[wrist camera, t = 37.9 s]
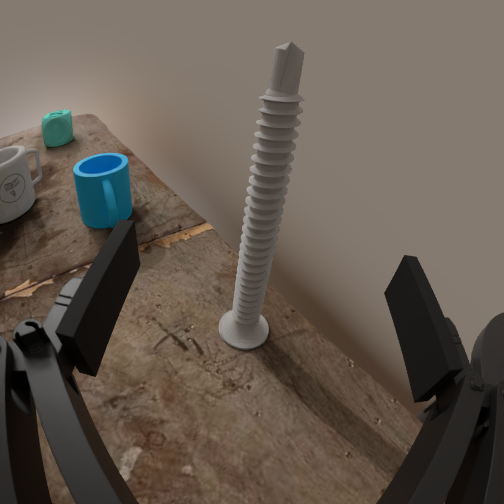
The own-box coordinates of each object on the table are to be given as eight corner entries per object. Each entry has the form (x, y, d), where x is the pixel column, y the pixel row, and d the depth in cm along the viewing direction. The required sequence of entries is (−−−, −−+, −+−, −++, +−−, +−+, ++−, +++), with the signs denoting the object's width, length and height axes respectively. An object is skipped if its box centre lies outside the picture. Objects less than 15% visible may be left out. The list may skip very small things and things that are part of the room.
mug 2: (79, 207, 43) (71, 160, 38) (125, 194, 47) (121, 149, 42) (90, 250, 36) (78, 195, 31) (146, 233, 40) (142, 180, 35)
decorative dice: (73, 134, 70) (70, 107, 65) (73, 143, 65) (70, 113, 60) (46, 141, 66) (43, 114, 61) (44, 150, 61) (41, 120, 56)
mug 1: (-4, 233, 36) (-21, 178, 30) (-20, 213, 39) (-34, 165, 33) (57, 195, 46) (48, 142, 39) (34, 181, 49) (25, 135, 42)
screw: (232, 33, 13) (264, 38, 17) (210, 337, 29) (231, 303, 33) (328, 47, 12) (339, 51, 16) (258, 357, 28) (274, 320, 32)
